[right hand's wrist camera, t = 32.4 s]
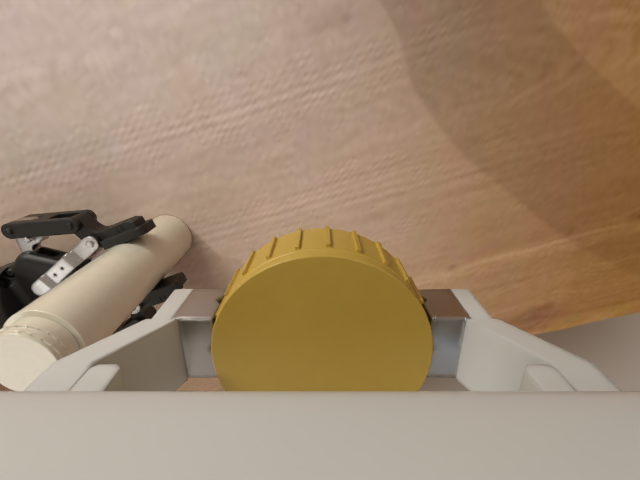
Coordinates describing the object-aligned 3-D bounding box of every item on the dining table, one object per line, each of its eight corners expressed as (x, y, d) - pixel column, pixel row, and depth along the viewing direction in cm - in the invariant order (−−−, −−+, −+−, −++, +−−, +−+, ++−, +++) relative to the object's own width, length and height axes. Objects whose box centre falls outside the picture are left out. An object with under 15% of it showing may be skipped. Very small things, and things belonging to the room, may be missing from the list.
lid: (387, 196, 9) (403, 218, 7) (435, 360, 11) (456, 409, 9) (193, 262, 9) (165, 296, 8) (270, 406, 11) (261, 459, 10)
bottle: (193, 258, 36) (75, 401, 19) (148, 255, 36) (-12, 397, 18) (190, 216, 34) (57, 331, 17) (143, 213, 34) (-38, 325, 17)
